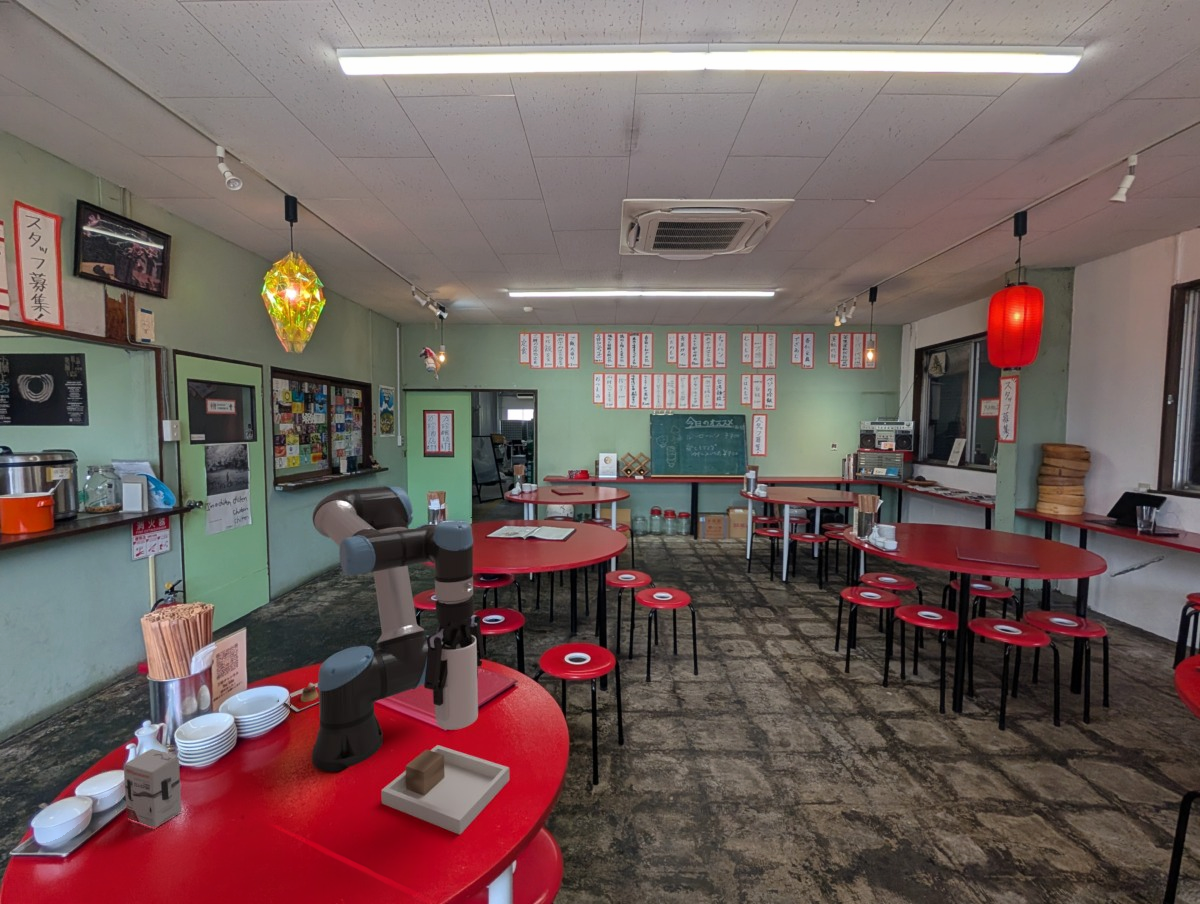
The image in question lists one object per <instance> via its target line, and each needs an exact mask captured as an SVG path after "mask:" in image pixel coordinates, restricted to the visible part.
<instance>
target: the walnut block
mask: <svg viewBox="0 0 1200 904" xmlns="http://www.w3.org/2000/svg"><path fill="white" fill-rule="evenodd" d="M405 771H406V789H407V790H410V791H413V792H415V793H418V794H421V795H423V796H425V795H426V794H427V793H428V792H429V791H430V790H431V789H432V788H434V787H435V786H436V785H437V784H438V783H439V782H440V781H441V780H442V779H443V778H444V755H442V754H439V753H436V752H433V751H430V749H425V750H424V751H422V752H421V753H420V754H419V755H417V756H416V757H415V758H414V759H413V760H411V761H410V762H409V763H407V764H406V765H405Z"/></svg>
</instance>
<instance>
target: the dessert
mask: <svg viewBox="0 0 1200 904" xmlns="http://www.w3.org/2000/svg"><path fill="white" fill-rule="evenodd" d="M316 688H318V682H316V683H313V682H309V683H308V685H307V686H306V687H304V688H301V689H299V690H296V691H293V692H291V693H289V694H290V696H291V698H293V697H296V696H298V695H301V696H300V702H302V703H305V702H306V703H307V702H311V701H314V700H316V699H318V698H319V692H318V691H317V689H316ZM317 704H319V701H318V702H315V703H313V704H310V705H308V706H305V707H303V708H300V709H298V707H296V706H294V705H293V704H291V706H290V707H289V708H291V709H292V710H293V711H295V712H296V713H298V712H301V711H303V710H306V709H308V708H311V707H313V706H315V705H317Z"/></svg>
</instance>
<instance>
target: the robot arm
mask: <svg viewBox="0 0 1200 904" xmlns="http://www.w3.org/2000/svg"><path fill="white" fill-rule="evenodd" d="M413 513H414V510H413V505H412V501H411V498H410V497H409V495H408V493H407V491H406V490H405V489H404V488H402V487H401V486H387V485H383V486H378V487H377V486H376V487H363V488H353V489H352V488H349V489H347V488H346V489H342V490H337V491H335V492H332V493H331V494H328V495H326V496H325V497H324V498H322V499H321V500H320V501H319V502H318V503H317V504H316V506H315V507H314V510H313V512H312V523H313V526H314V528H315V530H316V531H317V532H318V533H319V534H320V535H322V536H324V537H326V538H329V539H331V540H332V541H333V542H334V543H335V544H336V545H337V546H338V547H339V549H338V550H339V554H338V555H339V562H340V563H339V565H340V567H341V570H342V572H343V573H344V574H345V575H347V576H355V575H366V574H369V573H373V577H374V586H375V591H376V592H375V593H376V599H377V607H378V613H379V615H378V616H379V621H380V627H381V628H380V629H381V635H380V636H379V638H378V640H377V641H376V646H377V647H376V649H375V650H373V649H372V648H371V647H370V646H368V645H359V646H358V645H356V646H351V647H347V648H345V649H342V650H340V651H338V652H336V653H334V654H332V655H331V656H329V657H328V658H327V659H325V660H324V661H323V662H322V663H321V665H320V666H319V669H318V678H317V679H318V680H317V681H318V682H317V683H318V687H317V689H318V695H319V696H318V702H319V703H318V704H319V707H318V708H319V728H318V731H317V735H316V738H315V739H316V740H315V743H314V745H313V747H312V752H311V761H312V766H313V767H314V768H315V769H317V770H319V771H322V772H328V773H329V772H341V771H346V769H348V768H349V767H351V766H355V765H357V764H360V763H362V762H364V761H365V760H368V759H369V758H370V757H372V756H374V754H376V753H377V752H378V751H379V750H380V749H381V748H382V745H383V743H384V737H383V736H384V735H383V730H382V727H381V725H380V723H379V720H378V718H377V716H376V714H375V702H378V701H380V700H383V699H386V698H390V697H392V696H395V695H399V694H401V693H404V692H407V691H411V690H416V689H417V688H418V687H421V686H423V687H424V689H428V690H432V698H433V699H432V701H433V705H434V717H435V719H436V718H437V719H441V720H444V721H447V720H448V719H449V712H448V686H445V683H446V678H447V674H448V667H447V660H441V655H442V649H445V650H454V649H456V646H457V645H458V644H460V646H461V648H464V647H467V646H469V645H471V644H472V636H471V635H473V636H474V637H476V643H477V679H478V678H479V673H478V672H479V670H478V669H479V668H478V667H482V665H483V660H484V659H485V649H484V643H483V637H482V629H481V623H482V622H481V621H482V616H480V615H477V614H476V615H475V607H474V606H475V605H474V604H475V602H474V601H475V600H474V597H473V595H474V576H473V575H474V545H473V544H474V537H473V531H472V530H473V528H472V525H471V524H470V522H468V521H463V520H462V521H461V520H451V521H449V520H448V521H443V522H439V523H437V524H434V523H433V524H432V523H431V524H430V523H425V524H421V525H419V526H417V528H410V529H408V526H410V525H411V524H412V523H413V519H414V518H413V517H414V515H413ZM424 563H432V564H433V565H434V594H435V595H434V596H435V597H434V598H435V600H436V601H435V618H436V620H437V622H438V623H439V626H438V630H437V633H435V635H426V633H425V629H424V628H422V627H421V626H419V624H418V623H417V618H416V617H417V616H416V610H415V603H414V598H413V592H412V586H411V579H410V573H409V566H414V565H420V564H424ZM445 644H446V645H449V646H450V647H446V646H445ZM439 681H440V682H439Z"/></svg>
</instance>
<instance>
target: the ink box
mask: <svg viewBox="0 0 1200 904" xmlns="http://www.w3.org/2000/svg"><path fill="white" fill-rule="evenodd" d="M179 759H180V758H179V756H178V755H177V754H173V753H170V752H169V753H168V752H166V751H161V750H159V749H158V750H157V749H154V748H152V749H149V750H147V751H145V752H143V753H141V754H140V755H138V756H136V757H134V758H132V759H131V760H129V761H127V762H125V763H124V764H123V775H124V776H123V777H124V793H125V809H126V811H125V812H126V819H127V818H129V819H131V820H134V821H137V822H140V823H143V824H146V825H148V826H151V827H154V828H155V827H157V826H159V825H160V824H162V823H164V822H165V821H167V820H169V819H170V818H172V817H173V816H175V815H177V814H178V815H180V814H181V813H182V799H181V798H182V796H181V794H182V793H181V777H180V760H179ZM180 812H181V813H180ZM179 813H180V814H179ZM178 815H177V816H178ZM175 817H176V816H175ZM172 819H173V818H172ZM169 821H170V820H169Z"/></svg>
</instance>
